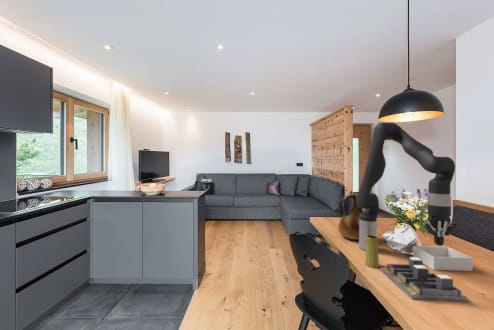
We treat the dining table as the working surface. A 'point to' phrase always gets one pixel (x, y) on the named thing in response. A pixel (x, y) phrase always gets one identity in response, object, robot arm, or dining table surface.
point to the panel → (420, 284)
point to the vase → (372, 251)
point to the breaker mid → (420, 271)
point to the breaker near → (444, 282)
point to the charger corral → (443, 258)
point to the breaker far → (414, 262)
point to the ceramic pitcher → (350, 220)
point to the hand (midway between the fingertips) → (438, 244)
